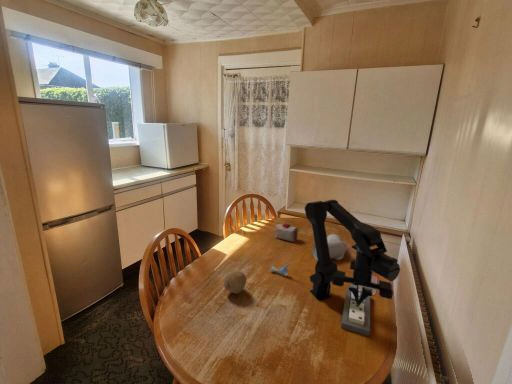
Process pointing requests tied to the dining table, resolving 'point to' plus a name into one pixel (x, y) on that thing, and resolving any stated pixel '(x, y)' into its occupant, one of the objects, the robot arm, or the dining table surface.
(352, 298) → the one dot key
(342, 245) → the elbow connector
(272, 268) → the dinosaur figurine
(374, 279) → the mobile phone
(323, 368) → the dining table surface
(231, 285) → the natural sponge
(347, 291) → the grey flat block
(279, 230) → the white box
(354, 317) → the two dot key
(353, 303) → the three dot key
